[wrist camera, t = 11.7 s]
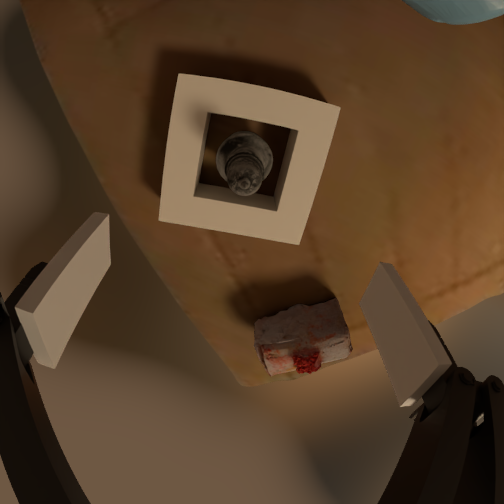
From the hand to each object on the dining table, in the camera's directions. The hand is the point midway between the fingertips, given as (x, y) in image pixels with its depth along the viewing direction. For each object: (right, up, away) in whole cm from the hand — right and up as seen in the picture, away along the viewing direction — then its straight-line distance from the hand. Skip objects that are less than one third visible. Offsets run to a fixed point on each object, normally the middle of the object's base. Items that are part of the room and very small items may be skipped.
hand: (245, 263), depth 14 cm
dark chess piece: (-1, +12, +19) cm, 23 cm away
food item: (+8, -10, +33) cm, 35 cm away
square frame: (-1, +12, +19) cm, 23 cm away
